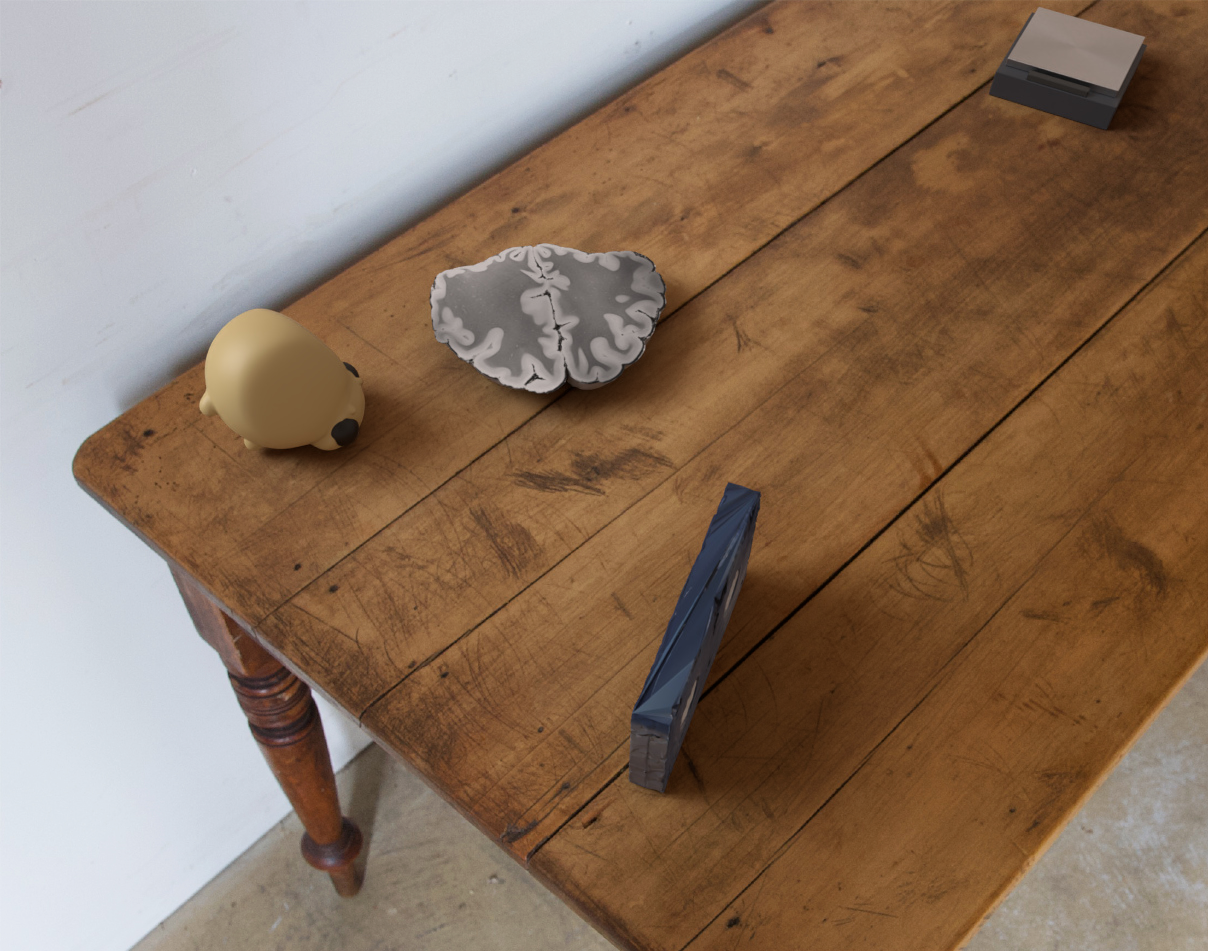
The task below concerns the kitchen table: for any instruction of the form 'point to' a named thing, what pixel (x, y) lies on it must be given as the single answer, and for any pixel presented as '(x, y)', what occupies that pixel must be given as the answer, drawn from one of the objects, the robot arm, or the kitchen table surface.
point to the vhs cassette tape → (692, 640)
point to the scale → (1069, 67)
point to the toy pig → (281, 385)
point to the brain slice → (549, 315)
